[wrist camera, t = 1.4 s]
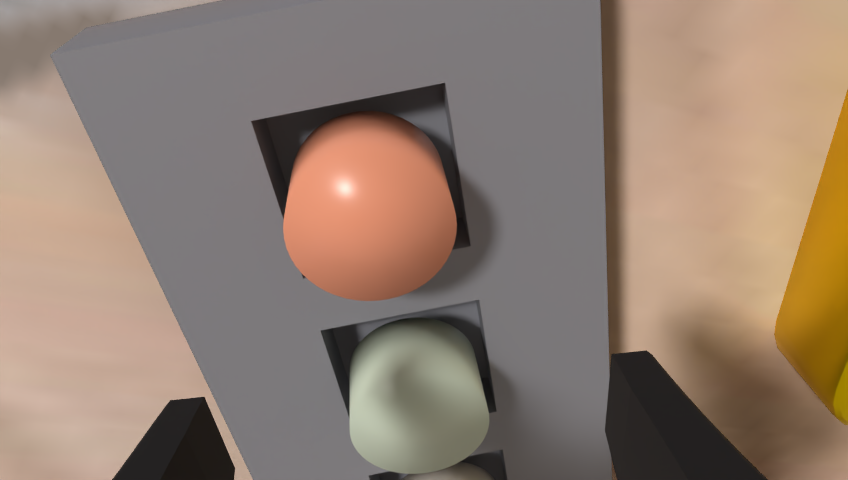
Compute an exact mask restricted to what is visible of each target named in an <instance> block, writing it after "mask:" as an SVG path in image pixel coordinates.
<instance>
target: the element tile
mask: <svg viewBox="0 0 848 480" xmlns="http://www.w3.org/2000/svg"><path fill="white" fill-rule="evenodd" d="M774 335H775V339H776V344H777V348H778V349H779V350H780V351H781V352H782V354H783V355H784V356H785V357H786V358H787V360H788V361H789V362H790V363H791V365H792V366H793V367H794V368H795V369H796V371H797V372H798V373H799V374H800V375H801V377H802V378H803V379H804V380H805V382H806V383H807V384H808V385H809V386H810V388H811V389H812V390H813V391H814V392H815V394H816V395H817V396H818V397H819V399H820V400H821V401H822V402H823V403H824V405H825V406H826V407H827V408H828V409H829V411H830V412H831V413H832V414H833V415H834V416H835V417H836V418H837V419H838V420H840V421H841V422H842V423H843V424H845V425H848V90H847V93H846V97H845V100H844V103H843V106H842V110H841V113H840V116H839V119H838V123H837V126H836V129H835V132H834V136H833V139H832V142H831V145H830V149H829V152H828V155H827V158H826V161H825V165H824V168H823V171H822V174H821V178H820V181H819V184H818V187H817V191H816V194H815V197H814V200H813V204H812V207H811V210H810V213H809V217H808V220H807V223H806V226H805V229H804V233H803V236H802V239H801V242H800V246H799V249H798V252H797V255H796V259H795V262H794V265H793V268H792V272H791V275H790V278H789V281H788V285H787V288H786V291H785V294H784V298H783V301H782V304H781V307H780V310H779V314H778V317H777V320H776V326H775V334H774Z"/></svg>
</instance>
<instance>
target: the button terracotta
mask: <svg viewBox="0 0 848 480" xmlns="http://www.w3.org/2000/svg"><path fill="white" fill-rule="evenodd" d="M456 231H457V221H456V213H455V209H454V205H453V201H452V198H451V194H450V190H449V187H448V183H447V179H446V176H445V172H444V168H443V165H442V161H441V158H440V156H439V153H438V151H437V149H436V148H435V146H434V144H433V143H432V141H431V140H430V139H429V138H428V136H427V135H426V134H425V133H424V132H423V131H422V130H420V129H419V128H418V127H416V126H415V125H414V124H412V123H411V122H409V121H407V120H405V119H403V118H401V117H398V116H396V115H393V114H389V113H385V112H378V111H358V112H351V113H347V114H343V115H340V116H338V117H335V118H333V119H331V120H329V121H327V122H325V123H324V124H322V125H321V126H319V127H318V128H317V129H315V130H314V131H313V132H312V133H311V134H310V135H309V136H308V137H307V138H306V140H305V141H304V142H303V144H302V145H301V147H300V149H299V151H298V152H297V155H296V157H295V160H294V163H293V168H292V173H291V179H290V185H289V191H288V197H287V202H286V208H285V214H284V222H283V233H284V240H285V244H286V248H287V251H288V253H289V255H290V258H291V259H292V261H293V263H294V264H295V266H296V267H297V268H298V269H299V271H300V272H301V273H302V274H303V275H304V276H305V277H306V278H307V279H308V280H309V281H311V282H312V283H313V284H315V285H316V286H317V287H319V288H321V289H323V290H325V291H326V292H329V293H331V294H334V295H336V296H339V297H343V298H346V299H352V300H359V301H379V300H386V299H391V298H395V297H399V296H401V295H404V294H407V293H409V292H411V291H413V290H415V289H417V288H419V287H420V286H422V285H423V284H425V283H426V282H428V281H429V280H430V279H431V278H432V277H434V276H435V275H436V273H437V272H438V271H439V270H440V269H441V268H442V267H443V265H444V264H445V262H446V261H447V259H448V257H449V255H450V253H451V251H452V248H453V246H454V243H455V238H456Z"/></svg>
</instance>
